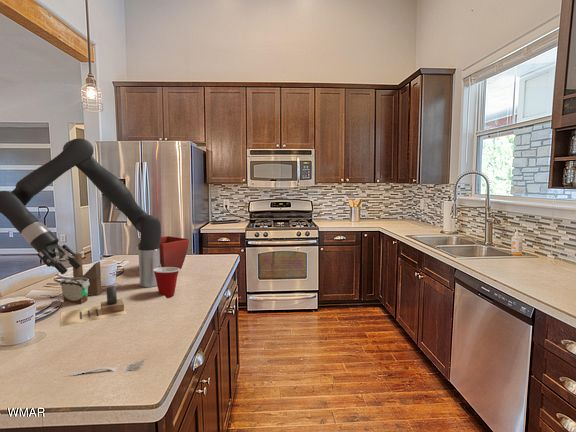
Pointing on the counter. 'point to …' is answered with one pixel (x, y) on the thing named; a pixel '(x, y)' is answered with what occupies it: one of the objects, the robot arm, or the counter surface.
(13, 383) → the counter surface
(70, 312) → the oak board
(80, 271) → the wooden block
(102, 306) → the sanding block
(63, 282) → the food container
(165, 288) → the plastic cup
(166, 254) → the plant pot
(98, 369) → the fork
